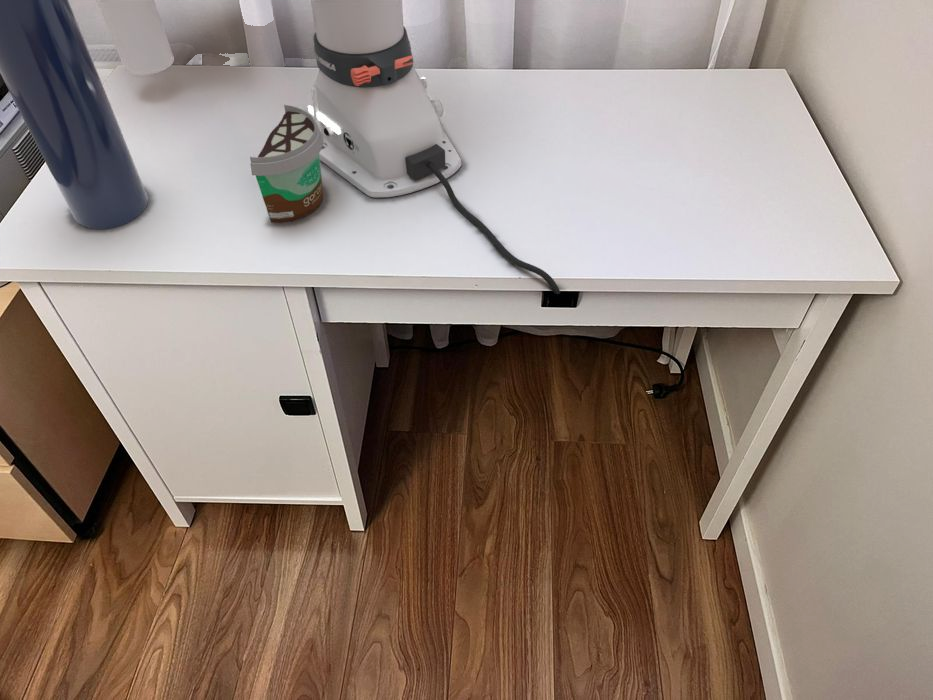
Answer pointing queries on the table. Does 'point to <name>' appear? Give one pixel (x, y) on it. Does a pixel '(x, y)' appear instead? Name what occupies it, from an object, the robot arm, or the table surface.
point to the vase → (68, 112)
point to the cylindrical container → (137, 35)
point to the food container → (291, 167)
